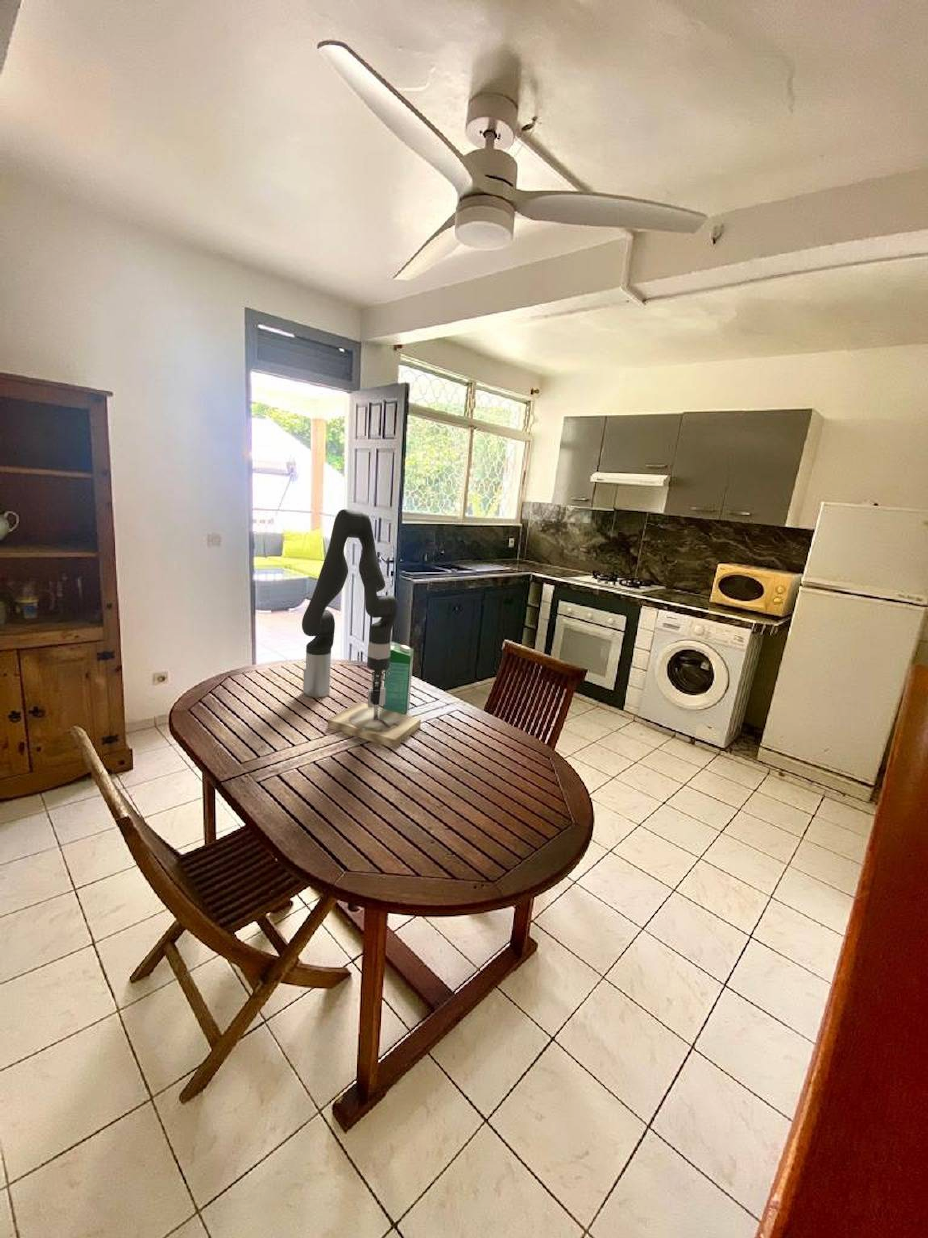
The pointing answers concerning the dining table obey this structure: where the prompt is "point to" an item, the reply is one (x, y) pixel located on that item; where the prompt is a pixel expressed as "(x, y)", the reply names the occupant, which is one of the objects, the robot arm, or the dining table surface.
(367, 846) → the dining table surface
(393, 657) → the milk carton
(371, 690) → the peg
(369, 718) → the dial board
